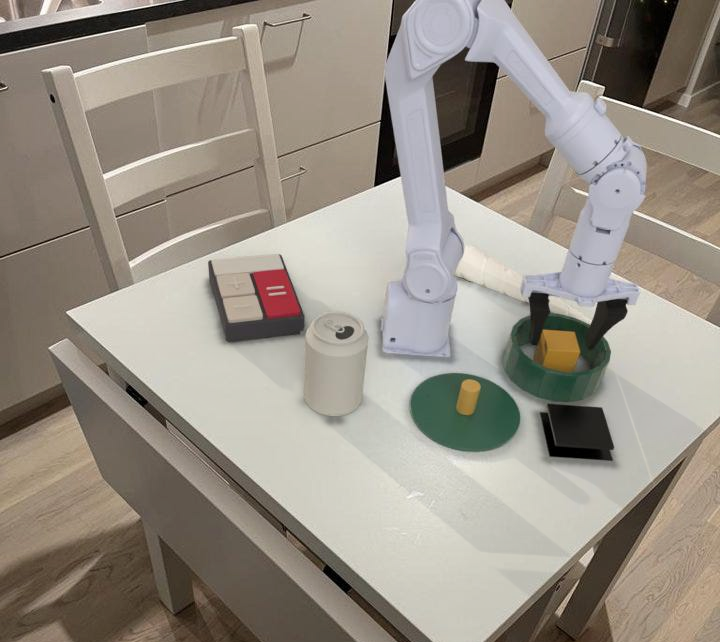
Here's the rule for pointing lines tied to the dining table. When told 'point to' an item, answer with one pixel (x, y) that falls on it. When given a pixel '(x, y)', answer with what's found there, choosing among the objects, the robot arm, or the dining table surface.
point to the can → (335, 363)
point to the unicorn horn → (504, 280)
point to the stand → (577, 432)
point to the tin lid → (464, 412)
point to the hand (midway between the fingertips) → (561, 342)
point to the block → (557, 350)
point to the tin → (548, 380)
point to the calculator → (255, 297)
